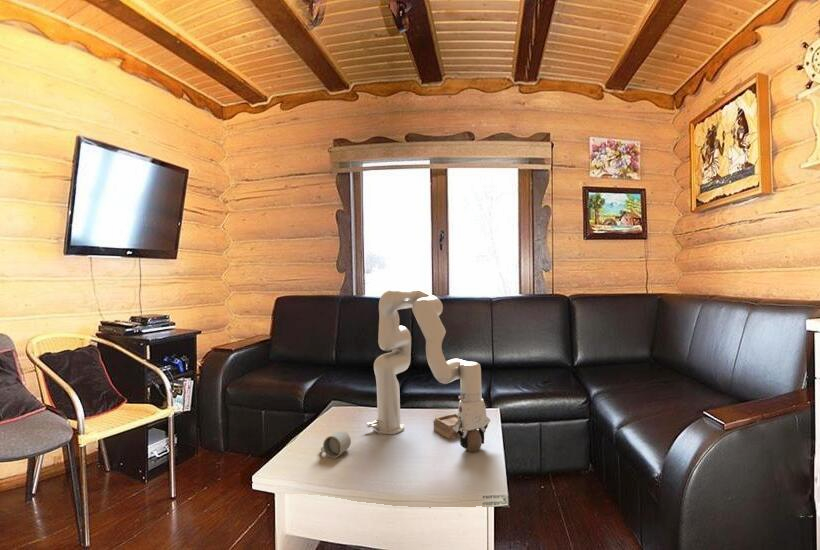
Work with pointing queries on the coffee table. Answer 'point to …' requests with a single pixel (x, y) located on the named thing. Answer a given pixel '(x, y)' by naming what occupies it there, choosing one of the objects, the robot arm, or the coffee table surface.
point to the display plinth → (446, 425)
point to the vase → (473, 440)
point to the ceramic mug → (336, 444)
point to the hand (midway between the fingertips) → (472, 444)
